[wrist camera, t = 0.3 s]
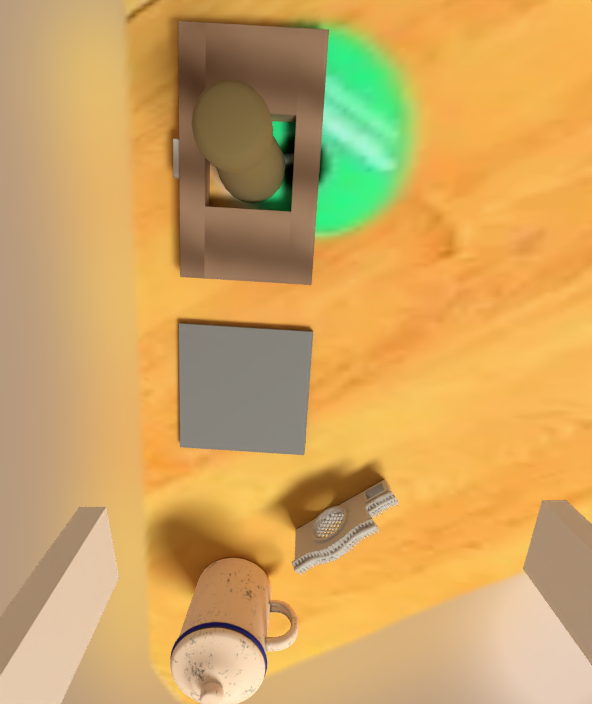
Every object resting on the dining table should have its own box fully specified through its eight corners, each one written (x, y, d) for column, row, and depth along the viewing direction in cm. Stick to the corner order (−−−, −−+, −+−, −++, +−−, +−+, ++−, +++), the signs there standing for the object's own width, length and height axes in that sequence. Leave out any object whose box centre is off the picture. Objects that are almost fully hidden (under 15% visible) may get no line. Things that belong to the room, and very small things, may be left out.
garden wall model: (384, 475, 39) (398, 510, 34) (393, 487, 40) (408, 525, 34) (292, 528, 41) (290, 570, 35) (300, 540, 41) (300, 583, 36)
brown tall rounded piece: (210, 190, 34) (167, 153, 23) (228, 120, 32) (191, 45, 21) (274, 211, 34) (261, 185, 23) (294, 142, 33) (290, 80, 22)
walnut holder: (177, 33, 31) (170, 20, 29) (327, 41, 31) (328, 29, 29) (179, 276, 35) (173, 276, 34) (310, 284, 35) (311, 284, 34)
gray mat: (180, 322, 36) (178, 323, 36) (312, 331, 36) (313, 332, 36) (181, 444, 39) (180, 446, 38) (304, 452, 39) (304, 455, 38)
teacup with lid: (201, 621, 44) (166, 743, 33) (190, 556, 42) (149, 662, 31) (301, 615, 44) (301, 738, 32) (295, 550, 42) (292, 655, 30)
